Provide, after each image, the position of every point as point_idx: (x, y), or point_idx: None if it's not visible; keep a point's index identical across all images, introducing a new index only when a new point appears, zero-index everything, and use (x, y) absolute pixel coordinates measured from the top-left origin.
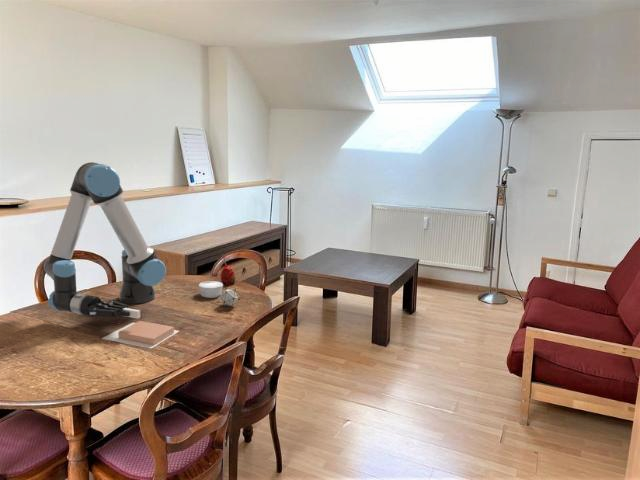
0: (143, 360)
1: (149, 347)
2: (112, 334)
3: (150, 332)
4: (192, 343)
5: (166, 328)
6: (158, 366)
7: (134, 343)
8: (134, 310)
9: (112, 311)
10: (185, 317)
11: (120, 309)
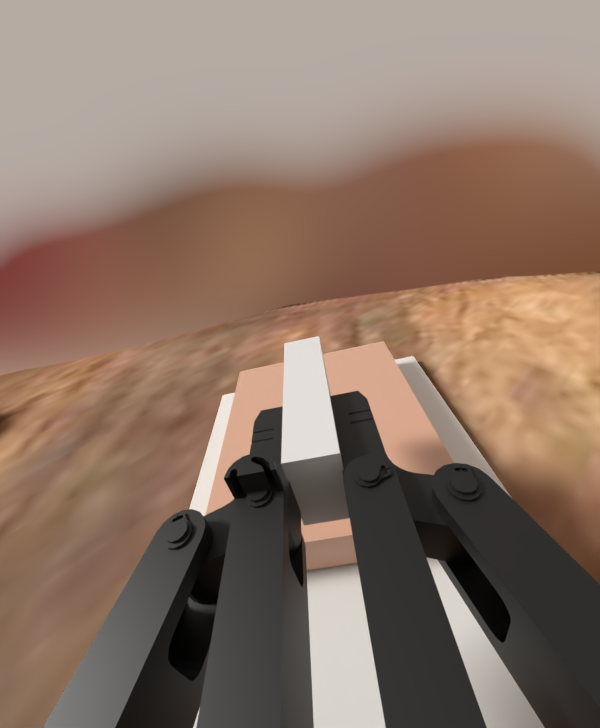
0: (486, 331)
1: (411, 363)
2: (487, 693)
3: (339, 383)
4: (294, 337)
5: (265, 376)
6: (467, 300)
7: (436, 419)
8: (308, 359)
9: (516, 508)
10: (34, 489)
11: (369, 463)
